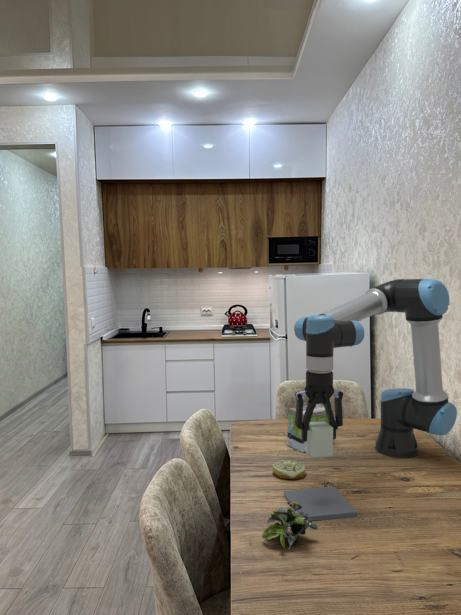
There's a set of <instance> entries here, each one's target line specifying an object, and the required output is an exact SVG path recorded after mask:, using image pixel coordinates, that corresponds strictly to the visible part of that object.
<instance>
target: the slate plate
mask: <svg viewBox="0 0 461 615" xmlns="http://www.w3.org/2000/svg"><path fill="white" fill-rule="evenodd" d="M283 496H284V498H285V499H286V501H287V502H295V503H297V504H300V505H301V506H302V509H299V512H304V514H306V513H307V514H309V515H308V517H309V518H311V522H312V521H313V522H314V521H323V520H324V521H325V520H334V519H335V520H336V519H343V518H355V517H358V511H357V510H356V509H355V507H353V506H352V504H351V503H350V502H349V501H348V500H347V499H346V498H345V497H344V496H343V495H342V493H341V492H340V491H339V490H338V489H337V488H336V486H325V487H324V486H323V487H314V488H311V487H310V488H303V489H301V488H300V489H292V490H291V489H290V490H283ZM291 508H292V509H294V508H293V507H291ZM297 511H298V510H297Z"/></svg>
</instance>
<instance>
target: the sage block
mask: <svg viewBox="0 0 461 615" xmlns="http://www.w3.org/2000/svg"><path fill="white" fill-rule="evenodd" d="M308 429H309V430H310V454H308V455H309V456H310V457H311V458H325V457H333V456H334V440H333V427H332V426H330V425H329V424H328V423H326V422H325V421H323V422H310V424H309V427H308Z"/></svg>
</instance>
